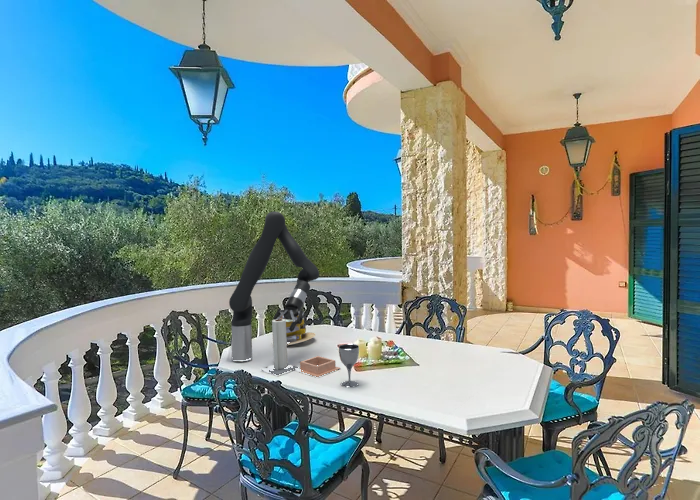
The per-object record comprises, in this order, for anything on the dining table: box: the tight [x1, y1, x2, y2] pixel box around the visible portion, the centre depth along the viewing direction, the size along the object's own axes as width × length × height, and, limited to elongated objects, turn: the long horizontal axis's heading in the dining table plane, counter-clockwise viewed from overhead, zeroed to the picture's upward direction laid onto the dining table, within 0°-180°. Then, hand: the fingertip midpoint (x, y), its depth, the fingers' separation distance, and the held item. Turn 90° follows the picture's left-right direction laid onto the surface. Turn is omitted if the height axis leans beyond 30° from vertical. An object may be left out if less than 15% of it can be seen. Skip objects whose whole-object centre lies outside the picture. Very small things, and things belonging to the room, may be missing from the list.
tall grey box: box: [271, 319, 289, 370], centre depth 175 cm, size 7×6×21 cm
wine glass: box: [338, 343, 360, 388], centre depth 156 cm, size 8×8×15 cm
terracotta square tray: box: [299, 355, 341, 378], centre depth 174 cm, size 14×14×4 cm
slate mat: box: [269, 365, 299, 375], centre depth 176 cm, size 12×12×1 cm
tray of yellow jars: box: [282, 315, 317, 346], centre depth 223 cm, size 25×25×17 cm
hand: (282, 329), depth 178 cm, fingers open, 8 cm apart
